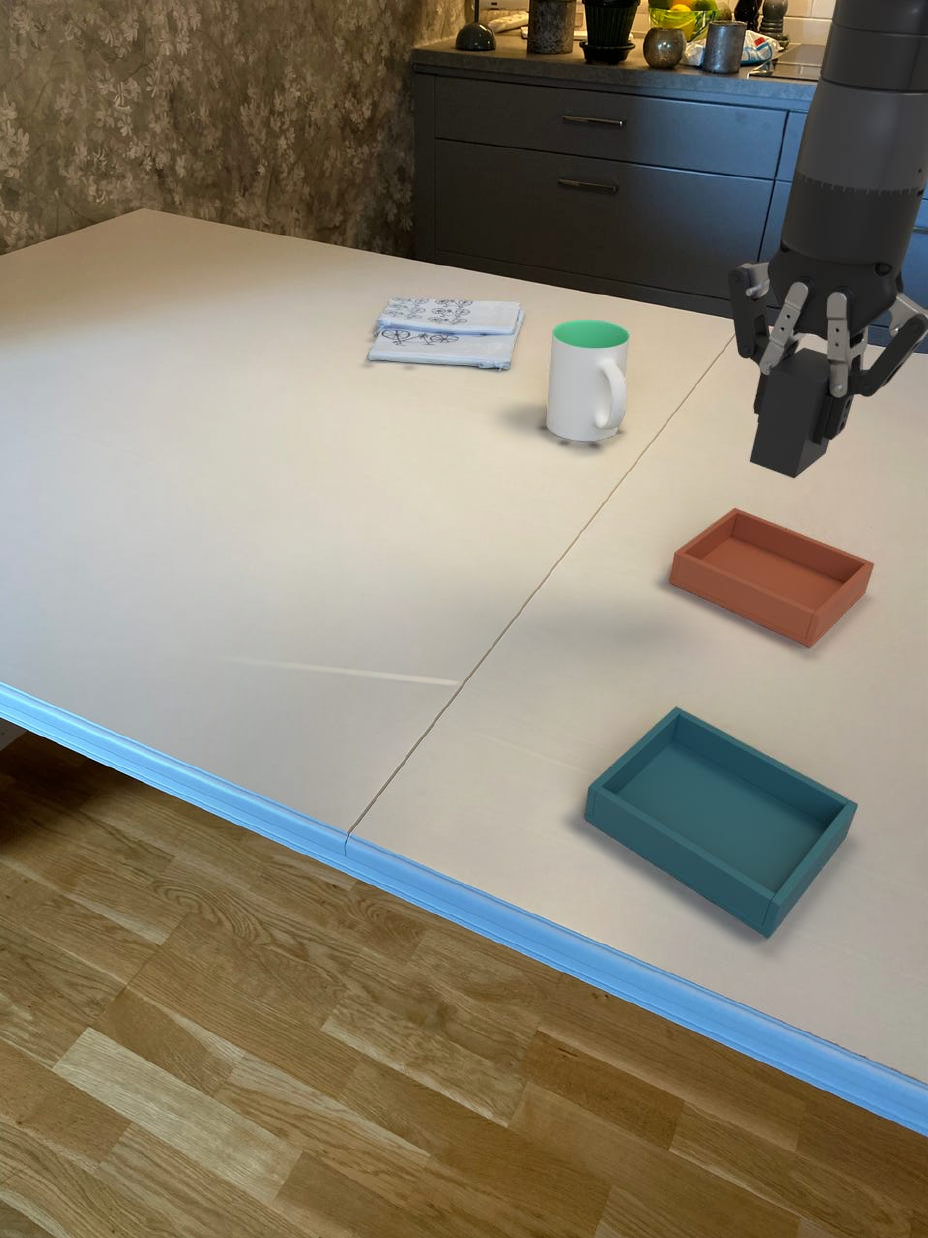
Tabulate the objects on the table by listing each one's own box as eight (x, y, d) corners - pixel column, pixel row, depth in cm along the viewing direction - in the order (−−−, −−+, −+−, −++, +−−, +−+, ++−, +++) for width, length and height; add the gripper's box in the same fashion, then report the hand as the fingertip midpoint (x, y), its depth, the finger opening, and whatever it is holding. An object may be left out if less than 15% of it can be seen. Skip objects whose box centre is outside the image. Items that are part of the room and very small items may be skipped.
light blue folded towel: (525, 315, 135) (526, 299, 134) (510, 373, 119) (510, 356, 118) (390, 306, 137) (390, 291, 136) (357, 363, 121) (356, 346, 120)
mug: (651, 449, 104) (664, 356, 98) (584, 463, 101) (593, 367, 95) (597, 404, 113) (606, 315, 106) (534, 415, 110) (539, 325, 104)
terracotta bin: (865, 593, 84) (875, 563, 82) (810, 648, 77) (819, 617, 76) (728, 536, 90) (734, 507, 89) (668, 582, 84) (673, 552, 83)
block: (826, 453, 70) (852, 361, 66) (794, 479, 67) (819, 384, 63) (781, 437, 72) (803, 346, 68) (748, 462, 69) (769, 368, 65)
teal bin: (846, 837, 62) (859, 804, 60) (769, 939, 56) (780, 906, 54) (669, 738, 69) (676, 705, 67) (583, 819, 63) (588, 786, 61)
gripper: (723, 156, 59) (679, 417, 70) (960, 203, 52) (870, 486, 62) (781, 136, 63) (731, 384, 74) (1006, 177, 56) (915, 445, 67)
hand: (795, 429), depth 68 cm, fingers closed on block, 3 cm apart
